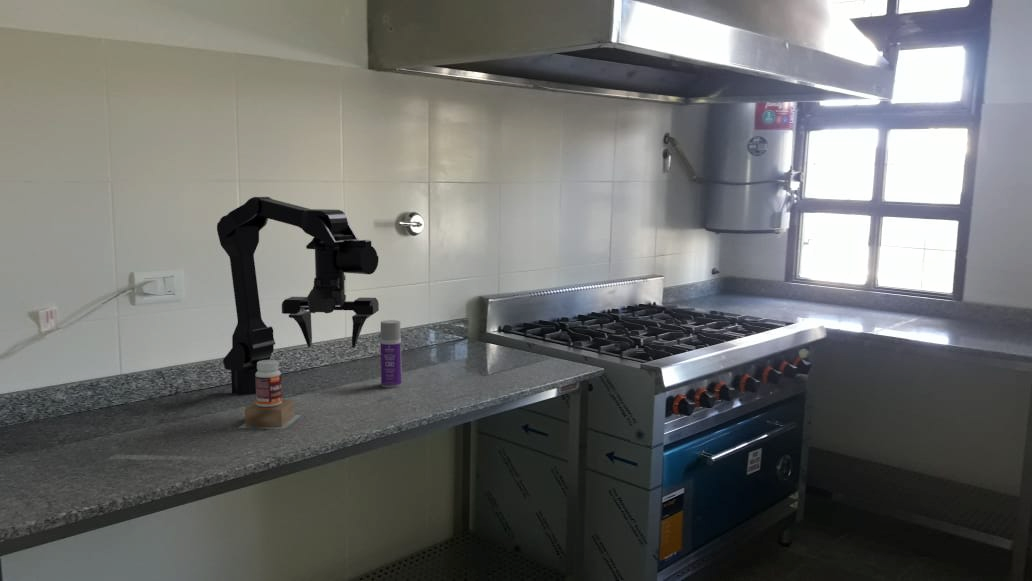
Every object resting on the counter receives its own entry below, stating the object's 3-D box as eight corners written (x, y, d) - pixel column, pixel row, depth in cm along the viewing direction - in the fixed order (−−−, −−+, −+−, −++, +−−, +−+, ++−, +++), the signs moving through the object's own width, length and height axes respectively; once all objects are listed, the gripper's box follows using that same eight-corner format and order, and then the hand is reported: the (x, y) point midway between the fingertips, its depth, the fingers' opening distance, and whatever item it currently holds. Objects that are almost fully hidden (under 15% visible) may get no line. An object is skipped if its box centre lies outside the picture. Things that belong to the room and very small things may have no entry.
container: (384, 388, 181) (383, 324, 179) (378, 384, 185) (377, 320, 183) (404, 386, 183) (403, 322, 182) (397, 381, 188) (396, 319, 186)
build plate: (232, 432, 149) (232, 428, 149) (256, 413, 161) (256, 410, 161) (321, 433, 148) (321, 430, 148) (338, 415, 160) (338, 412, 160)
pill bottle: (274, 408, 150) (273, 365, 149) (251, 406, 151) (250, 363, 150) (286, 401, 155) (285, 359, 154) (264, 400, 156) (262, 358, 155)
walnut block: (245, 426, 150) (244, 408, 150) (259, 415, 157) (258, 399, 157) (281, 427, 150) (281, 409, 149) (294, 416, 157) (293, 399, 156)
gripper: (270, 275, 154) (273, 354, 156) (365, 276, 153) (367, 356, 155) (289, 269, 165) (292, 343, 167) (378, 270, 164) (379, 344, 166)
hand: (331, 347), depth 163 cm, fingers open, 9 cm apart
